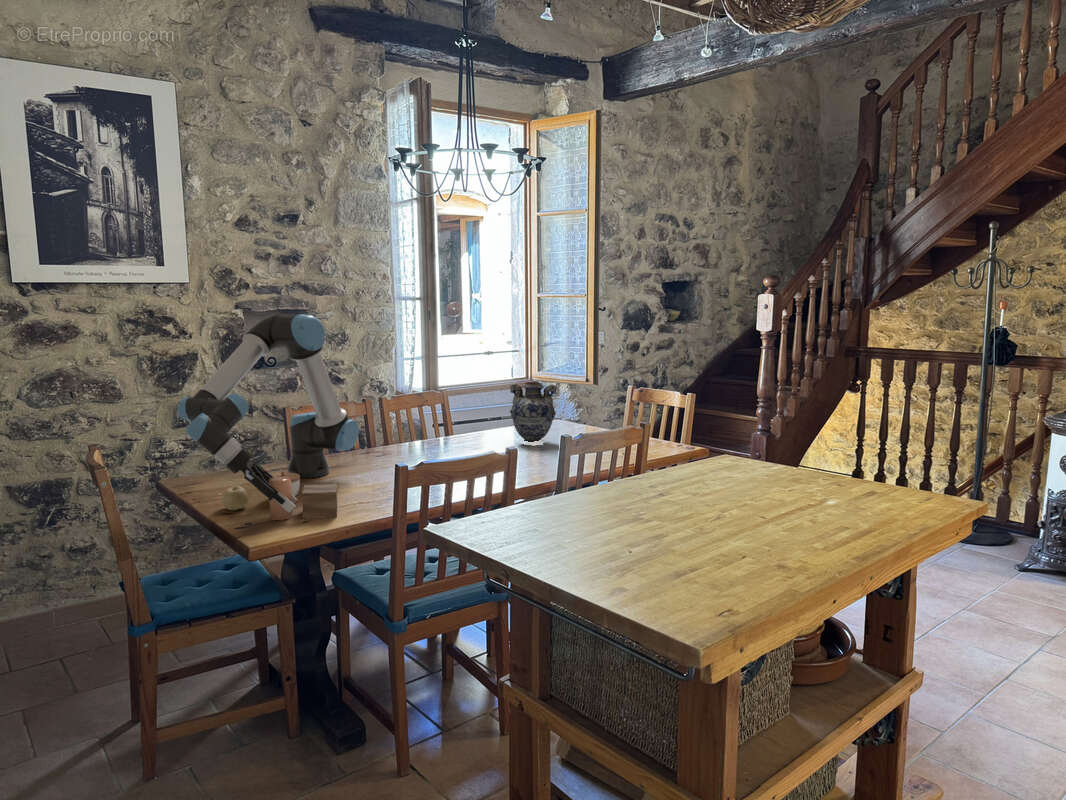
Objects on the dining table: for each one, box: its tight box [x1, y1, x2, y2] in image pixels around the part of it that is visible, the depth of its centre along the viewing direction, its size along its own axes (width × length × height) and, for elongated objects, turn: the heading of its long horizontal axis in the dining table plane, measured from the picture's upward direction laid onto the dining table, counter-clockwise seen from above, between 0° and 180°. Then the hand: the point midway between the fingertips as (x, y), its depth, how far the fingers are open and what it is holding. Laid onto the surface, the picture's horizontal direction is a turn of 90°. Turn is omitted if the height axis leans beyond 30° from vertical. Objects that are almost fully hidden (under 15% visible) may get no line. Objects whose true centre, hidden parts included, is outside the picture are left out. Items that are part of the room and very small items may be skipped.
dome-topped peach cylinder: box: [269, 477, 293, 521], centre depth 229 cm, size 6×6×12 cm
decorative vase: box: [509, 381, 558, 442], centre depth 340 cm, size 21×19×28 cm
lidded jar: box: [271, 470, 301, 498], centre depth 249 cm, size 11×11×9 cm
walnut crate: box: [301, 483, 339, 520], centre depth 234 cm, size 10×10×8 cm
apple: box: [221, 485, 249, 511], centre depth 238 cm, size 8×8×8 cm
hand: (293, 505), depth 230 cm, fingers closed on dome-topped peach cylinder, 6 cm apart
